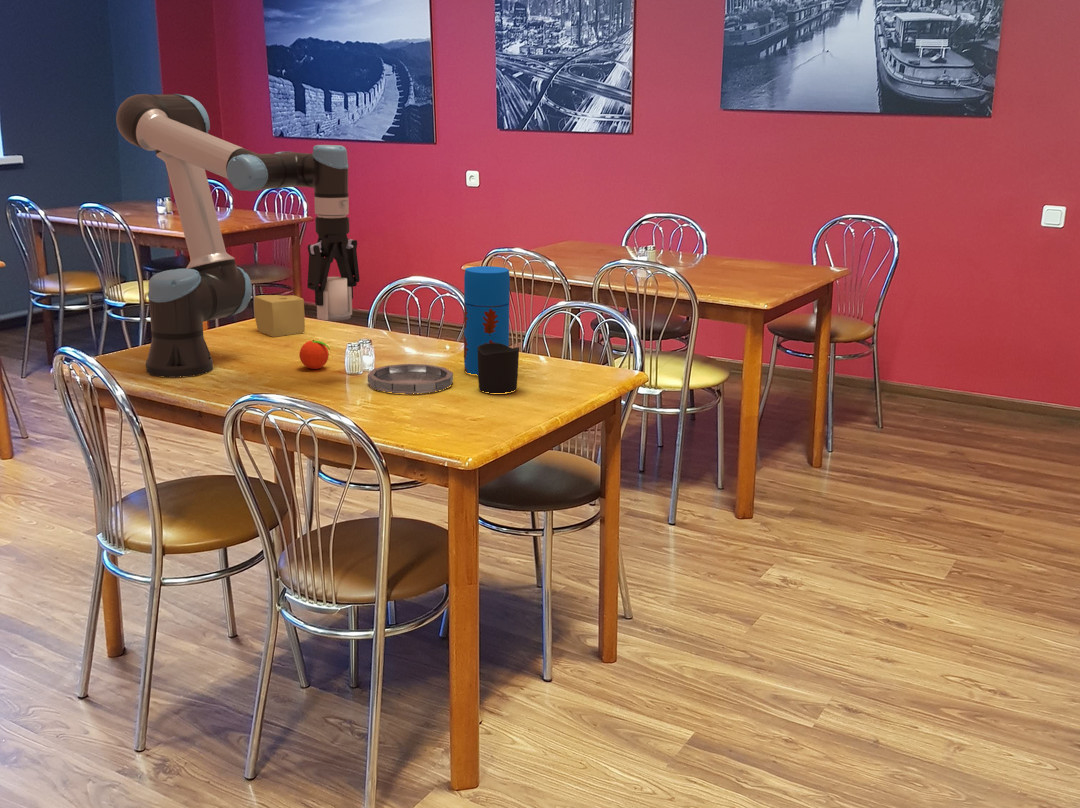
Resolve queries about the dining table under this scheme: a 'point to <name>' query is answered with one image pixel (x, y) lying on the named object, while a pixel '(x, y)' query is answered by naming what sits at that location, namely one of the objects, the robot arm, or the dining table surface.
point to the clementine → (314, 354)
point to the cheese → (279, 314)
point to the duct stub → (337, 299)
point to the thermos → (485, 310)
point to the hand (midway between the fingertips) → (334, 316)
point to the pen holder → (497, 368)
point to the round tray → (410, 378)
